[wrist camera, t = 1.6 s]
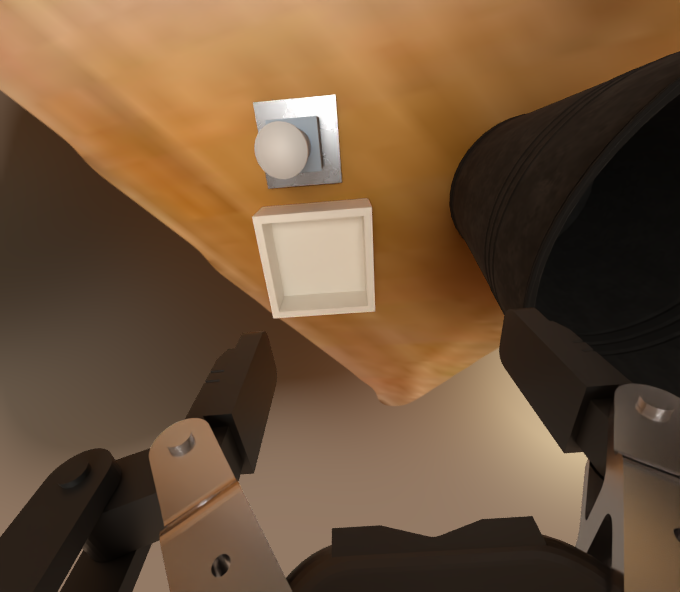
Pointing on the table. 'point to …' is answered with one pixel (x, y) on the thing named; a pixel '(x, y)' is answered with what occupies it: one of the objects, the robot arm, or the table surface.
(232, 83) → the table surface
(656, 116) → the bucket
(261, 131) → the knob
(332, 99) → the stud mount
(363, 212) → the parts tray
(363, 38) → the table surface
